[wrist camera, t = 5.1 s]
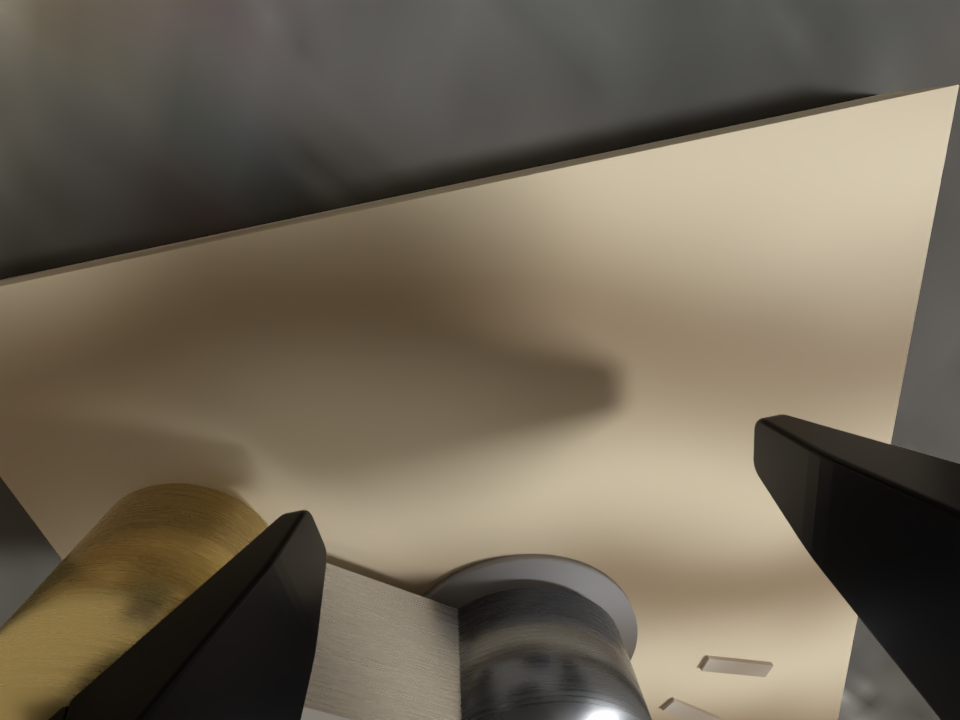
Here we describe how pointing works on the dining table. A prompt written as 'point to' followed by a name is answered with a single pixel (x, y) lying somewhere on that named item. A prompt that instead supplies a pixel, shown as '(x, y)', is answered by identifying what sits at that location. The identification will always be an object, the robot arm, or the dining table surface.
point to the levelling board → (521, 382)
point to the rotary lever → (342, 628)
